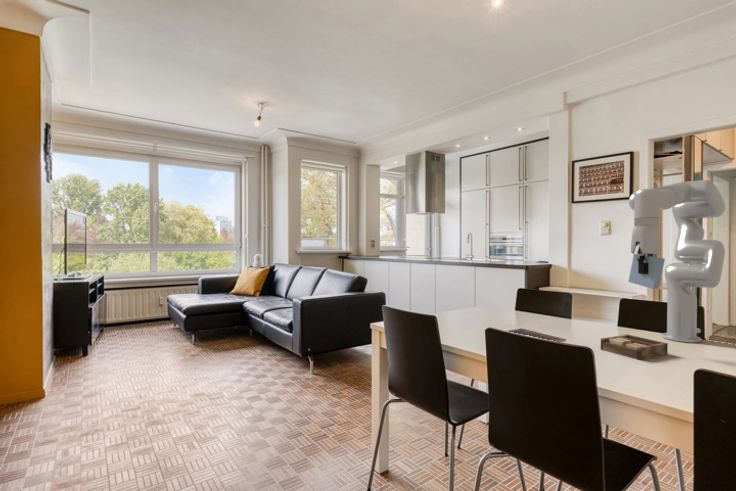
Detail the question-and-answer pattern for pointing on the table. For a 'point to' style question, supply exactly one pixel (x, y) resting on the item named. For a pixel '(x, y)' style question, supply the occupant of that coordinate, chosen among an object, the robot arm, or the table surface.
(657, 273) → the panel
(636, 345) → the offcut
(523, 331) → the picture frame
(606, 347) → the rack
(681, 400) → the table surface
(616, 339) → the offcut
